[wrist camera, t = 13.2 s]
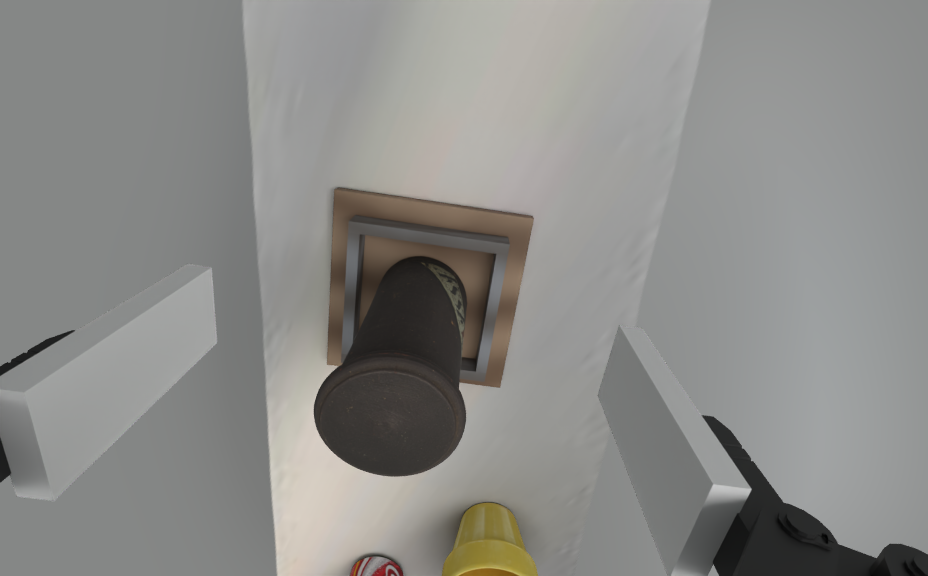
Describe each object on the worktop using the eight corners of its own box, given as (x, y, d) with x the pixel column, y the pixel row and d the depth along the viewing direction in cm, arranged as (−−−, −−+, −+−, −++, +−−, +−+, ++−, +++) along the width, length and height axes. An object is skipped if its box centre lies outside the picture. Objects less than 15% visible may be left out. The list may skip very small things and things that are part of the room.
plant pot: (459, 560, 60) (456, 642, 51) (434, 500, 56) (426, 576, 47) (539, 544, 58) (551, 626, 49) (518, 481, 55) (527, 556, 46)
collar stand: (338, 187, 43) (326, 194, 39) (532, 216, 43) (537, 225, 40) (330, 358, 49) (319, 377, 46) (499, 381, 50) (501, 401, 46)
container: (454, 346, 47) (441, 505, 29) (367, 321, 46) (295, 468, 28) (481, 268, 44) (485, 390, 26) (388, 241, 43) (322, 345, 25)
